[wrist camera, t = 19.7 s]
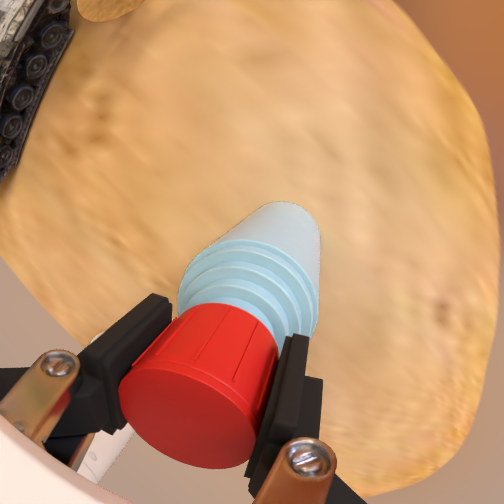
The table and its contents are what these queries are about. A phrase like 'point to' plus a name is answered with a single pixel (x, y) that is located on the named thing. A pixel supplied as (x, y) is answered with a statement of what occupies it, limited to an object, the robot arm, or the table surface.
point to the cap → (203, 386)
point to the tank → (27, 65)
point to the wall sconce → (105, 9)
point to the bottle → (262, 270)
